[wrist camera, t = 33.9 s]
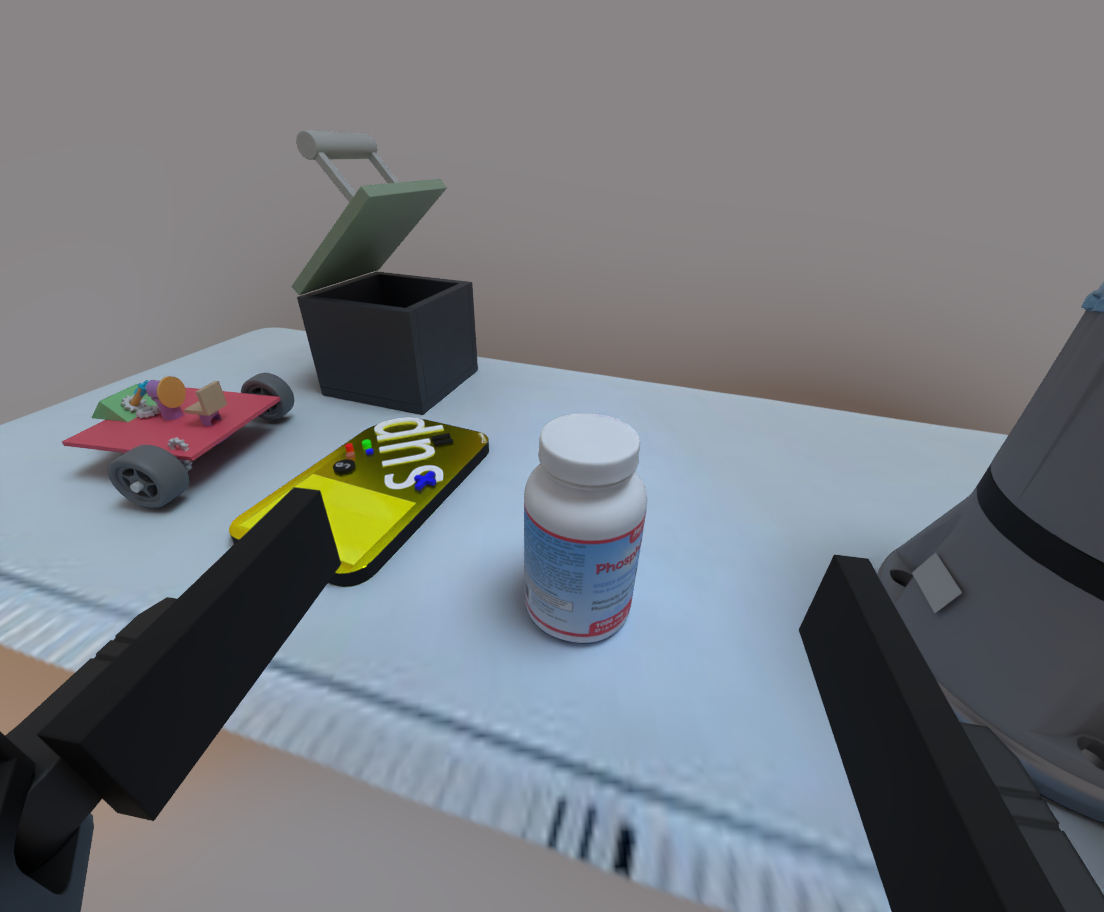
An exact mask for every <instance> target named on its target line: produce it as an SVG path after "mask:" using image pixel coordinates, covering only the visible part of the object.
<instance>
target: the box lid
mask: <svg viewBox="0 0 1104 912" xmlns="http://www.w3.org/2000/svg"><path fill="white" fill-rule="evenodd" d="M296 140H297V141H296V142H297V147H298V149H299V152H300V153H301V154H302V156H303V157H305V158H306V159H309V160H316V161H317V163H318V164H319V165H320V166H321V167H322V169H323V170H324V171H325V172H326V174H327V175H328V176H329V178H330V179H331V180H332V181H333V183H334V184H335V185H336V186H337V188H338V189H339V190H340V191H341V193H342V194H343V195H344V196H345V197H346V199H347V200H348V201H349V204H348V206H347V207H346V209H345V210H344V211H343V213H342V214H341V216H340V217H339V219H338V220H337V221H336V223H335V224H334V226H333V227H332V229H331V230H330V232H329V233H328V234H327V236H326V237H325V239H324V240H323V242H322V243H321V245H320V246H319V247H318V249H317V250H316V252H315V253H314V255H313V256H312V258H311V259H310V261H309V262H308V263H307V265H306V266H305V268H304V269H303V271H302V272H301V273H300V275H299V276H298V278H297V279H296V281H295V282H294V283H293V285H292V288H293V289H294V290H295V291H296V292H297V293H298V294H299V295H301V294H305V293H308V292H311V291H314V290H317V289H320V288H323V287H326V286H330V285H333V284H336V283H339V282H342V281H345V280H348V279H352V278H355V277H358V276H361V275H364V274H367V273H370V272H373V271H377V270H379V269H380V268H381V266H382V265H383V264H384V263H385V262H386V260H387V259H388V258H389V257H390V256H391V254H392V253H393V252H394V251H395V250H396V248H397V247H398V246H399V245H400V243H401V242H402V241H403V240H404V239H405V237H406V236H407V235H408V234H409V232H411V230H412V229H413V228H414V227H415V225H416V224H417V223H418V222H419V221H420V220H421V218H422V217H423V216H424V215H425V214H426V212H427V211H428V210H429V209H430V208H431V206H432V205H433V204H434V203H435V202H436V200H437V199H438V198H439V197H440V196H441V194H442V193H443V192H444V191H445V190H446V186H445V185H444V183H443V182H442V181H441V179H436V180H423V181H412V182H401V183H399V182H398V180H397V179H396V178H395V176H394V175H393V174H392V173H391V171H390V170H389V169H388V167H387V166H386V165H385V163H384V162H383V161H382V159H381V158H380V157H379V156H378V154H377V144H376V141H375V140H374V138H373V137H372V136H371V135H369V134H366V133H346V132H326V131H306V130H303V131H300V132H299V133H298V135H297V139H296ZM329 159H369V160H370V161H371V162H372V164H373V165H374V166H375V167H376V169H377V170H378V171H379V173H380V174H381V175H382V176H383V178H384V179H385V180H386V182H387V183H388V184H378V185H366V186H361V187H360V188H359V190H358V191H357V193H356V192H355V191H354V190H353V189H352V187H351V186H350V185H349V184H348V182H347V181H346V180H345V179H344V177H343V176H342V175H341V174H340V173H339V171H338V170H337V169H336V167H335V166H334V165H333V164H332V162H331V161H330V160H329Z"/></svg>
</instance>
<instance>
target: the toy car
mask: <svg viewBox="0 0 1104 912" xmlns="http://www.w3.org/2000/svg"><path fill="white" fill-rule="evenodd" d="M293 405H294V395H293V393H292V390H291V389H290V387H289V386H288V385H287V383H286V382H285V381H283V380H282V379H281V378H279V377H278V376H276V375H273V374H270V373H260V374H257V375H256V376H254V377H252V378H251V379H249V380H247V381H246V382H245V383H244V384H243V386H242V389H241V393H235V392H225V391H222V388H221V386H220V383H219V381H214V382H212V383H210V384H209V385H207V386H205V387H203V388H201V389H195V388H185V386H184V384H183V383H182V382H181V381H180V380H179V379H178V378H176V377H170V376H168V377H164V378H163V379H162V380H161V381H156V380H150V381H148V380H146V381H145V382H143V383H142V384H141V383H139V384H136V385H133V386H131V387H129V388H127V389H125V390H123V391H120V392H118V393H116V394H114V395H112V396H110V397H107V398H105V399H103V400H101V401H99V403H98V405H97V407H96V409H95V412H94V414H93V416H92V418H96V419H105V420H104V421H102V422H100V423H98V424H96V425H94V426H92V427H90V428H88V429H86V430H84V431H82V432H80V433H78V434H76V435H74V436H72V437H70V438H68V439H66V440H64V441H62V443H63V445H64V446H71V447H80V448H88V449H97V450H105V451H113V452H122V453H125V454H123V455H121V456H120V457H118V458H116V459H115V460H113V461H112V462H111V463H110V465H109V467H108V475H109V478H110V480H111V482H112V484H113V485H114V487H115V488H116V489H117V490H118V491H119V492H120V493H121V494H122V495H123V496H124V497H126V498H127V499H129V500H130V501H132V502H134V503H136V504H138V505H141V506H144V507H149V508H158V507H162V506H164V505H166V504H167V503H169V502H170V501H171V500H172V499H174V498H175V497H176V496H178V495H179V494H180V493H182V492H183V491H184V490H185V489H186V488H187V486H188V484H189V475H188V472H187V471H189V470H190V469H191V468H192V466H191V464H192V463H193V462H191V461H194V460H195V459H196V458H198V457H199V456H201V455H202V454H204V453H205V452H207V451H208V450H210V449H211V448H212V447H214V446H216V445H218V444H219V443H221V442H222V441H224V440H225V439H227V438H229V437H230V435H231V434H233V433H234V432H236V431H237V430H238V429H240V428H241V427H243V426H244V425H246V424H247V423H249V422H250V421H251V420H253V419H254V418H256V417H257V416H258V417H260V418H263V419H266V420H276V419H279V418H281V417H282V416H284V415H285V414H286V413H288V412H289V411H290V410H291V409H292V407H293ZM181 462H183V463H184V465H183V464H182V463H181Z"/></svg>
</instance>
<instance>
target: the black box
mask: <svg viewBox="0 0 1104 912" xmlns="http://www.w3.org/2000/svg"><path fill="white" fill-rule="evenodd" d="M297 299H298V303H299V307H300V310H301V314H302V318H303V321H304V326H305V330H306V334H307V337H308V341H309V345H310V349H311V353H312V357H313V360H314V364H315V368H316V372H317V376H318V380H319V384H320V387H321V391H322V395H326V396H331V397H336V398H341V399H346V400H352V401H357V402H362V403H367V404H372V405H377V406H382V407H387V408H392V409H398V410H403V411H408V412H413V413H418V414H424V413H425V412H427V411H428V410H429V409H430V408H432V407H433V406H434V405H435V404H437V403H438V402H439V401H440V400H441V399H443V398H444V397H445V396H446V395H448V394H449V393H450V392H451V391H453V390H454V389H455V388H456V387H458V386H459V385H460V384H461V383H462V382H464V381H465V380H466V379H467V378H469V377H470V376H471V375H472V374H474V373H475V372H476V371H477V370H478V364H477V350H476V337H475V336H476V334H475V319H474V303H473V288H472V282H466V281H456V280H447V279H439V278H430V277H420V276H411V275H402V274H393V273H384V272H374V273H371V274H368V275H364V276H361V277H358V278H355V279H352V280H349V281H346V282H343V283H340V284H337V285H334V286H330V287H327V288H324V289H321V290H318V291H315V292H312V293H309V294H305V295H302V296H299V297H297Z"/></svg>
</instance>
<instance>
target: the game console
mask: <svg viewBox="0 0 1104 912" xmlns="http://www.w3.org/2000/svg"><path fill="white" fill-rule="evenodd" d="M488 452H489V442H488V437H487V436H486V435H485V434H484V433H481V432H477V431H473V430H468V429H464V428H460V427H455V426H451V425H447V424H442V423H438V422H434V421H429V420H424V419H419V418H412V417H406V418H397V419H391V420H387V421H384V422H381V423H379V424H377V425H375V426H373V427H370V428H368V429H366V430H364V431H363V432H361V433H360V434H358V435H357V436H355V437H354V438H353V439H351V440H350V441H348V442H347V443H345V444H344V445H342V446H341V447H339V448H338V449H336V450H335V451H333V452H332V453H331V454H329V455H328V456H326V457H325V458H323V459H322V460H320V461H319V462H317V463H316V464H314V465H313V466H311V467H310V468H309V469H307V470H306V471H304V472H303V473H301V474H300V475H298V476H297V477H295V478H294V479H292V480H291V481H289V482H288V483H287V484H285V485H284V486H282V487H281V488H279V489H278V490H276V491H275V492H273V493H272V494H270V495H269V496H267V497H266V498H264V499H263V500H262V501H260V502H259V503H257V504H256V505H254V506H253V507H251V508H250V509H248V510H247V511H245V512H244V513H242V514H241V515H240V516H238V517H237V518H236V519H235V520H233V522H232V523H231V525H230V527H229V533H230V535H231V537H232V539H233V542H234V544H235V543H236V542H237V541H238V540H239V539H240V538H241V537H243V536H244V535H245V534H246V533H247V532H248V531H249V530H250V529H251V528H252V527H253V526H254V525H255V524H256V523H257V522H258V521H259V520H260V519H261V518H262V517H263V516H264V515H265V514H266V513H268V512H269V511H270V510H271V509H272V508H273V507H274V506H275V505H276V504H277V503H278V502H279V501H280V500H281V499H282V498H283V497H284V496H285V495H286V494H287V493H288V492H289V491H290V490H291V489H292V488H294V487H298V488H306V489H314V490H320V491H321V494H322V498H323V501H324V505H325V508H326V512H327V515H328V519H329V522H330V526H331V529H332V533H333V536H334V540H335V543H336V547H337V550H338V554H339V557H340V561H341V565H340V567H339V568H338V570H337V571H336V572H335V574H334V575H333V576H332V578H331V579H330V580H329V583H332V584H335V585H339V586H352V585H356V584H359V583H362V582H364V581H366V580H368V579H369V578H371V577H372V576H373V575H375V574H376V573H377V572H378V571H379V569H380V568H381V567H382V566H383V565H384V564H385V563H386V562H387V561H388V560H389V559H390V558H391V557H392V556H393V555H394V554H395V552H396V551H397V550H398V549H399V548H400V547H401V546H402V545H403V544H404V543H405V542H406V541H407V540H408V539H409V538H410V537H411V535H412V534H413V533H414V532H415V531H416V530H417V529H418V528H419V527H420V526H421V525H422V524H423V523H424V522H425V521H426V519H427V518H428V517H429V516H430V515H431V514H432V513H433V512H434V511H435V510H436V509H437V508H438V507H439V506H440V505H441V504H442V502H443V501H444V500H445V499H446V498H447V497H448V496H449V495H450V494H451V493H452V492H453V491H454V490H455V489H456V488H457V487H458V485H459V484H460V483H461V482H462V481H463V480H464V479H465V478H466V477H467V476H468V475H469V474H470V473H471V472H472V471H473V470H474V468H475V467H476V466H477V465H478V464H479V463H480V462H481V461H482V460H483V459H484V458H485V457H486V455H487V454H488Z"/></svg>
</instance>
